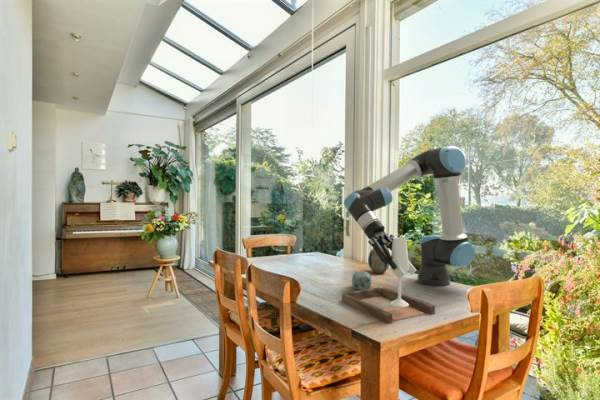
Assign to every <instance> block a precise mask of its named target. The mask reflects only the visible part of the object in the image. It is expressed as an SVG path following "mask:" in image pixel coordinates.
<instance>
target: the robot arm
mask: <svg viewBox="0 0 600 400" xmlns="http://www.w3.org/2000/svg"><path fill="white" fill-rule="evenodd" d="M466 165H467V158H466V154H465V153H464V152H463V150H461V149H460V148H459V147H458V146H454V145H453V146H444V147H438V148H433V149H428V150H425V151H422V152H421V153H420V154H417V155H415V156H414V157H412V158H411V159H409V160H407V162H406V163H405V164H404V165H403V166H401V167H399V168H398V169H397V168H396V169H394V171H392V172H389V173H388V174H387V175H385V176H383V177H381V178H379V179H378V180H376V181H374V182H372V183H371V184H369V185H367V186H365V187H363V188H362V189H358V190H355V191H354V190H353V192H351V193H349V194H348V195H347V196H346V197H345V198H344V201H343V205H344V207H345V208H346V210H347V211H348V213H349V214H350V216H351V217H352V218H353V219H354V221H355V222H356V223H357V224H358V226H359V227H360V229H361V230H362V231H363V233H364V234H365V236H366V237H367V238H368V239H369V240H367V242H368V244H369V245H370V246H371V247H372V249H373V248H374V250H375V252H376V253H377V255H378V256H379V258H380V259H381V261H382V262H385V264H386V265H387V264H389V267H390V266H391V268H392V269H393V270H394V272H395V273H396V274H397V276H398V277H399V278H401V279H402V278H403V277H405V274H406V273H405V272H404V271H403V269H402V268H401V267H400V266H399V264H398V263H397V262H396V260H395V259H393V260H392V257H391V252H392V243H393V238H395V236H394V234H392V233H391V234H390V235H389V234H387V232H385V225H383V223H382V221H381V220H379V218H378V217H377V216H376V215H375V213H374V211H377V210H379V209H381V208H384V207H387V206H388V205H390V204H392V202H393V194H392V192H393V191H395V190H396V189H398V188H400V187H401V186H403V185H405V184H407V183H409V182H410V181H412V180H413V179H416V180H417V179H419V178H421V177H424V176H428V175H432V177H433V180H434V181H435V182H437V189H438V190H437V191H438V199H439V210H440V218H441V220H440V221H441V229H442V234H440V235H439V234H438V235H437V234H436V235H424V236H422V237H421V239H420V268H419V270H417V269H416V267H414V265H413V264H412V262H411V261H410V260H409V259H408V261H409V271H408V272H407V273H409V275H411V276H412V275H414V274H415V273H416V272H417V271H418V275H417V277H416V278H417V279H416V280H417V282H418V283H420V284H423V285H426V286H435V287H436V286H437V287H440V286H448V285H451V278H450V276H449V272H448V269H447V265H448V266H451V267H454V268H461V269H462V268H466V267H468V266H469V265H470V264H472V261H474V258H475V254H476V250H475V247H474V245H473V244H472V243H471V242H469V241H468V235H467V234H466V233H464V228H463V227H464V226H463V218H462V215H463V214H462V206H461V198H460V187H459V180H460V178H461V177H462V171H464V170H465V167H466ZM389 250H390V251H391V252H390V251H389ZM383 257H384V258H383ZM406 275H407V274H406ZM397 276H396V277H397ZM398 277H397V278H398Z"/></svg>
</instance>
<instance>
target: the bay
mask: <svg viewBox="0 0 600 400" xmlns="http://www.w3.org/2000/svg"><path fill="white" fill-rule="evenodd" d="M380 296H383V297H385V298H388V299H391V300H392V301H394V300H396V299H398V291H396V290H393V289H390V288H388V287H385V286H383V287H372V288H369V289H365V290H359V291H358V290H354V291H353V290H352V291H348V292H344V293H341V302H342V303H345V304H346V305H348V306H351V307H353V308H355V309H357V310H358V311H361V312H362V313H364V314H367V315H368V316H370V317H373V318H375V319H377V320H378V321H381V322H383V323H385V324H387V325H389V324H393V320H392V314H391V313H389V312H386V311H384V309H381V308H380V307H377V306H375V305H373V304H370V302H369V303H368V302H367V301H364V300H363V299H369V298H374V297H380ZM401 299H402V300H404V301H405V302H407V303H408V304H409V306H408V307H411V308H413V309H416V310H418V311H421V312H423V313H425V314H428V315H434V314H436V305H435V304H432V303H430V302H426V301H424V300H421V299H418V298H416V297H413V296H411V295H410V296H409V295H408V294H404V293H402V292H401Z"/></svg>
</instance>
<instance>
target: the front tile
mask: <svg viewBox="0 0 600 400" xmlns="http://www.w3.org/2000/svg"><path fill="white" fill-rule="evenodd" d="M383 310H384V311H386V312H389V313H391V314H392V321H394V322H395V321H396V322H397V321H401V320H405V319H410V318H415V317H419V316H424V315H425V314H426V312H423V311H421V310H418V309H416V308H413V307H411V306H406V307H398V306H393V307H390V308H385V309H383Z"/></svg>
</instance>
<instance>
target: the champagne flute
mask: <svg viewBox="0 0 600 400" xmlns="http://www.w3.org/2000/svg"><path fill="white" fill-rule="evenodd" d="M390 255H391V257H392V260H393V259H395V260H396V262H397V263H398V264H399V266H400V267H401V268H402V269H403V271H404V272H405V273H406V274H405V275H407V274H408V273H409V272H408V271H409V261H410V260H409V253H408V242H407V238H405V237H394V238H393V243H392V251H391V253H390ZM408 260H409V261H408ZM389 269H390V271H391V272H392V273H391V274H393V275H394V277H396V278H397V292H398V299H396V300H392V301H390V303H389V304H390V305H391V306H393V307H406V306H408V307H410V306H409V304H408V303H407V302H405V301H404V300H402V299H401V293H402V277H401V278H399V277H398V276H397V274H396V273H395V272H394V270H393V269H392V268H391V266H390V265H389ZM405 275H404V276H405Z"/></svg>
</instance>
